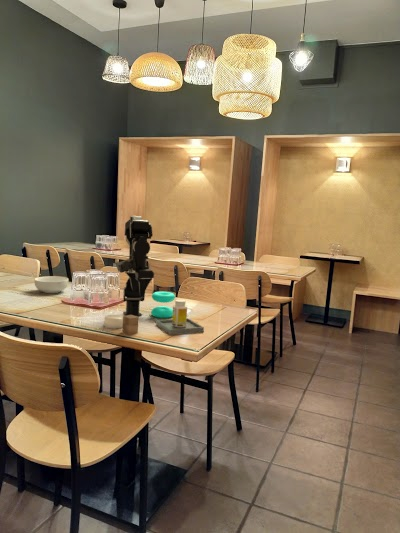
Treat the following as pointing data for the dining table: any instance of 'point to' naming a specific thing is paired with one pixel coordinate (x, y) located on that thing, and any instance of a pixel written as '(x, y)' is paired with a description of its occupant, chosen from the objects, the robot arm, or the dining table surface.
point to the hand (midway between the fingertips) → (137, 292)
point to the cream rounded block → (113, 321)
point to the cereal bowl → (51, 283)
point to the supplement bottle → (179, 314)
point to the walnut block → (130, 324)
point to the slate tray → (170, 329)
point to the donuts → (162, 310)
